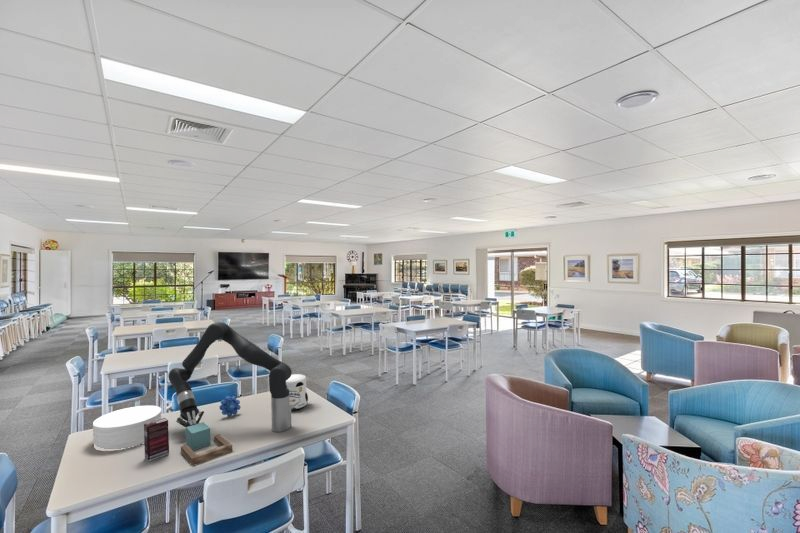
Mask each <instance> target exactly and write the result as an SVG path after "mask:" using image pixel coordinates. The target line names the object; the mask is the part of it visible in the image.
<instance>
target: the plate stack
mask: <svg viewBox="0 0 800 533" xmlns="http://www.w3.org/2000/svg"><path fill="white" fill-rule="evenodd" d="M162 416H163V415H162V408H161V406H158V405H136V406H131V407H124V408H121V409H117V410H114V411H113V410H112V411H111V412H108V413H105V414H103V415H101V416H99V417H98V418H96V419H95V420H93V423H92V432H93V433H92V438H93V439H92V442H93V443H94V444H95V445H96V446H97V447H100V448H104V449H121V448H128V447H132V446H136V447H138V446H137V445H139V446H141V445H140V444H142V445H144V444H143V443H144V424H146V423H149V422H152V421H156V420H159V419H162Z"/></svg>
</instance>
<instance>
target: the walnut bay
mask: <svg viewBox="0 0 800 533" xmlns="http://www.w3.org/2000/svg"><path fill="white" fill-rule="evenodd" d="M213 442H214V443H215V445H216V446H217V447H215V448H211V449H209V450H206V451H204V452H201V453H196V452H195V450H192V449H191V448H190V447H189V446H188V445H187V444H183V445H181V446H180V454H181V455H182V456H183V457H184V459H186V461H187V462H188V463H189V462H190V463H191V464H190V463H189V464H190V465H191V466H192V465H193V466H196V465H199V464H200V463H204V462H207V461H209V460H213V459H215V458H218V457H220V456H224V455H227V454H229V453H231V452H233V444H232V443H231V442H230V441H229V440H227V439H226V438H225V437H223V436H222V435H221V434H219V433H218V434H216V435H213ZM195 464H196V465H195Z"/></svg>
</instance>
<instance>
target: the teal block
mask: <svg viewBox="0 0 800 533" xmlns="http://www.w3.org/2000/svg"><path fill="white" fill-rule="evenodd" d="M211 441H212V438H211V427H210V426H209V425H207V424H206V423H205V422H204V421H202V422H199V423H198V424H195V425H192V426H188V427H185V445H188V446H189V447H190V448H191V449H192V450H193V451H195V450H198V449H200V448H201V449H202V448H204V447H207V446H209V445H211Z"/></svg>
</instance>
